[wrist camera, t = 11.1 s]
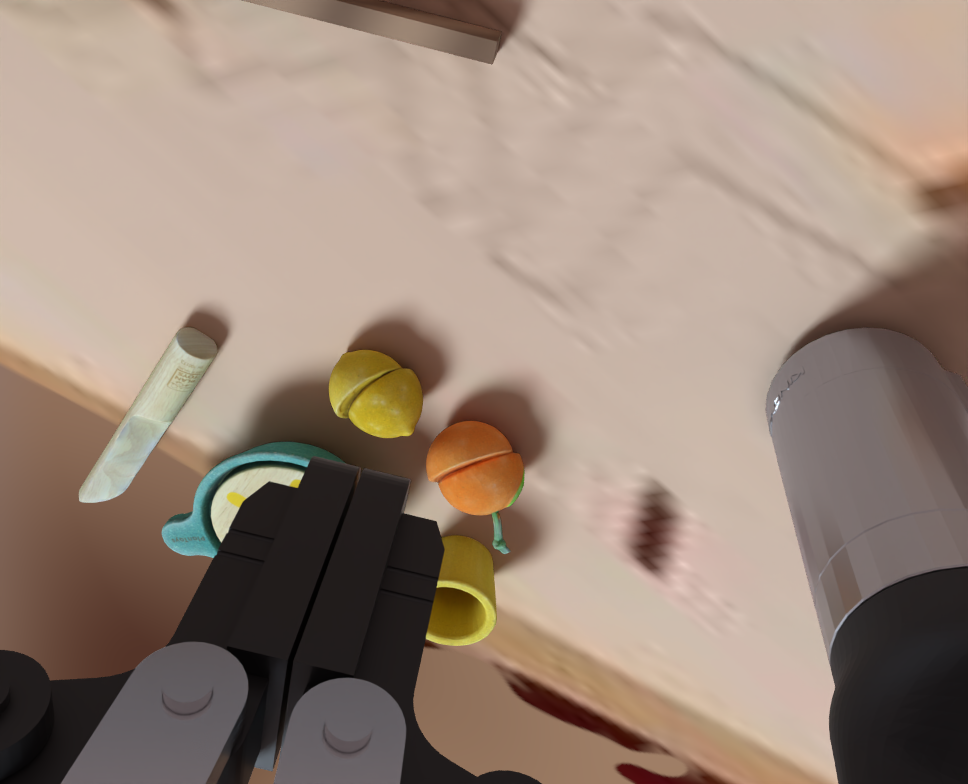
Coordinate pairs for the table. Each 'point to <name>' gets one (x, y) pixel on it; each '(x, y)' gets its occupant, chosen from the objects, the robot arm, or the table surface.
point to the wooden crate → (399, 25)
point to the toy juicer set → (372, 408)
